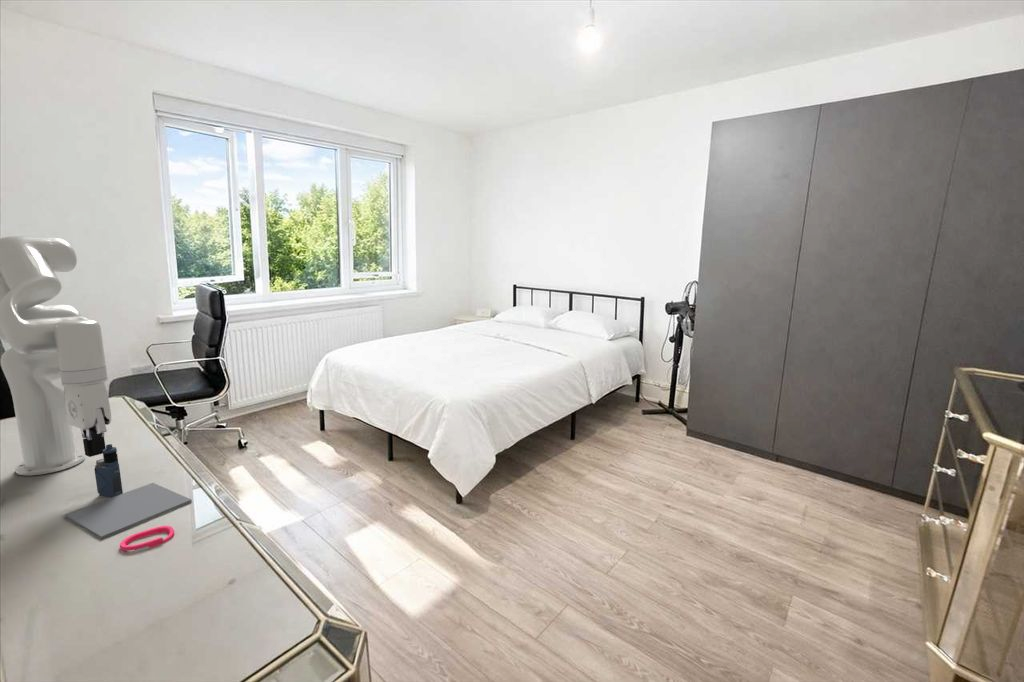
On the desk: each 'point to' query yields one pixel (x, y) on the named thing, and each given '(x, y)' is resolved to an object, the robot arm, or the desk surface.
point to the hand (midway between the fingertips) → (95, 454)
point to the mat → (126, 510)
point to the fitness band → (149, 543)
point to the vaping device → (108, 473)
